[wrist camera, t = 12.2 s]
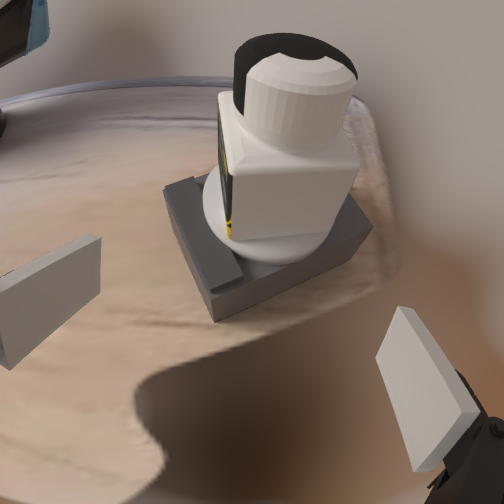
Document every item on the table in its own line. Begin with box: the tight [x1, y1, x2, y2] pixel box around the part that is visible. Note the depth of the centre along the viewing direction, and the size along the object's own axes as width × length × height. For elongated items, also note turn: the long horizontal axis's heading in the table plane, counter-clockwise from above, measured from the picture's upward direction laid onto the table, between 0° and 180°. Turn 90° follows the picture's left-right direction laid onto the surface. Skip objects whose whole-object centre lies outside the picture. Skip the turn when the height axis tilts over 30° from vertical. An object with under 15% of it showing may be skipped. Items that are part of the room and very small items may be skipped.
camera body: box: [163, 164, 373, 322], centre depth 27 cm, size 10×14×8 cm
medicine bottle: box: [218, 33, 361, 241], centre depth 18 cm, size 7×7×12 cm
